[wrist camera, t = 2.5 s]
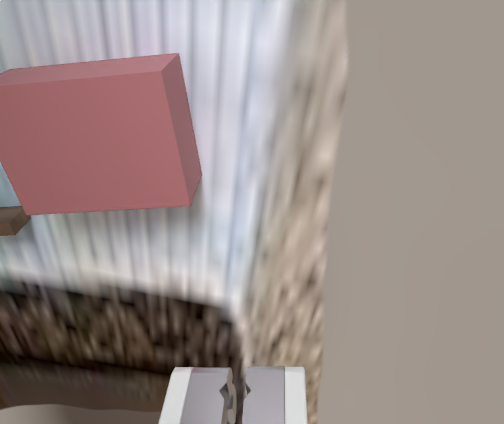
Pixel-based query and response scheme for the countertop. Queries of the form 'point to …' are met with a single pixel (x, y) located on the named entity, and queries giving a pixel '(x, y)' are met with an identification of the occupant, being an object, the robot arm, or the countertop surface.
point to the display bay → (12, 220)
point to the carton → (99, 135)
